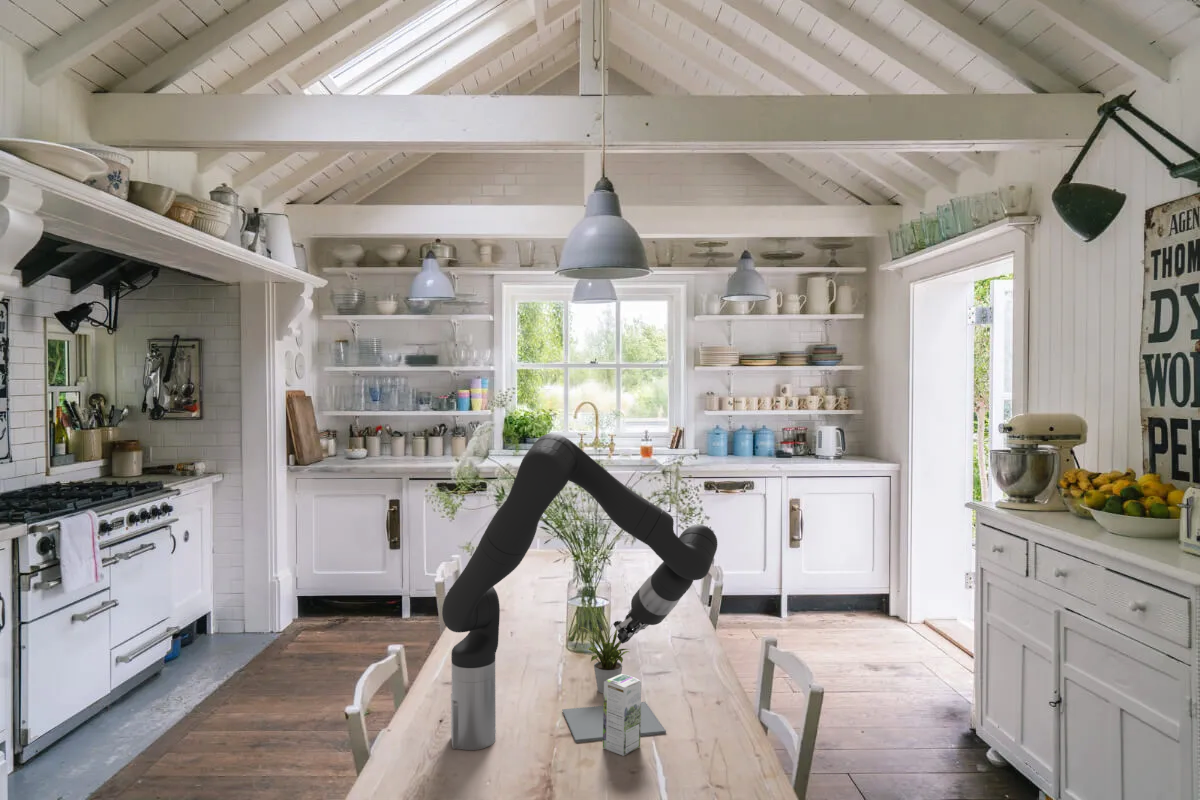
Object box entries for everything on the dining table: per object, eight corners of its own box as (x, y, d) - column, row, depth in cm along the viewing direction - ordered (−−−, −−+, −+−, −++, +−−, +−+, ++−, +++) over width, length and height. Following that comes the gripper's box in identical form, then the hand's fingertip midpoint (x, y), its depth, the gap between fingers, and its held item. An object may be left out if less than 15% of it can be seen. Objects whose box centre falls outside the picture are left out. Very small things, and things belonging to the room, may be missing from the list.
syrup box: (619, 739, 171) (619, 672, 171) (641, 747, 167) (641, 678, 167) (602, 748, 167) (602, 679, 167) (624, 757, 163) (624, 686, 163)
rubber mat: (575, 742, 170) (575, 739, 170) (562, 711, 185) (562, 709, 185) (665, 733, 174) (665, 730, 174) (645, 704, 190) (645, 701, 190)
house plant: (564, 696, 194) (564, 629, 194) (586, 676, 207) (586, 614, 207) (620, 705, 189) (620, 636, 189) (638, 684, 202) (639, 620, 202)
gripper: (643, 624, 153) (607, 665, 164) (691, 602, 161) (654, 643, 172) (622, 591, 156) (588, 634, 167) (670, 571, 164) (635, 613, 175)
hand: (622, 638), depth 170 cm, fingers closed
